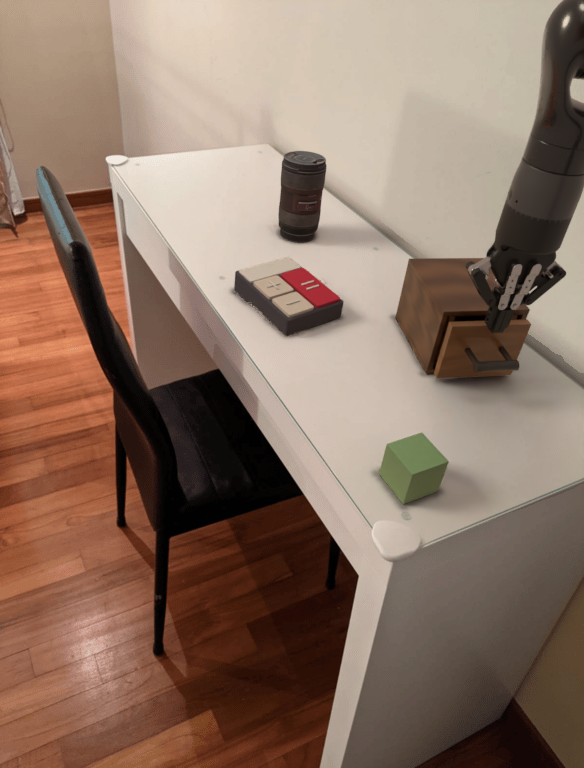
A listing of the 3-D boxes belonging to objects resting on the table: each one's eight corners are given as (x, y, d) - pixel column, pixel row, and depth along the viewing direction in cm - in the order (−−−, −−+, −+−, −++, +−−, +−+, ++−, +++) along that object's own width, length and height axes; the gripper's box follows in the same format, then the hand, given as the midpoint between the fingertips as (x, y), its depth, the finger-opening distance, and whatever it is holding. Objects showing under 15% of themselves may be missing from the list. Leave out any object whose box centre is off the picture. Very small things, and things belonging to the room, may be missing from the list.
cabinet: (506, 370, 90) (530, 309, 83) (425, 374, 88) (443, 311, 81) (467, 315, 101) (485, 257, 94) (395, 317, 98) (408, 258, 92)
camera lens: (323, 231, 121) (333, 155, 111) (309, 248, 115) (318, 168, 105) (285, 222, 123) (292, 146, 113) (270, 237, 117) (275, 159, 107)
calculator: (289, 316, 89) (234, 267, 98) (285, 339, 92) (232, 289, 100) (346, 297, 95) (289, 252, 103) (341, 320, 98) (286, 274, 106)
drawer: (525, 395, 84) (547, 343, 79) (448, 399, 82) (465, 346, 76) (473, 322, 98) (489, 273, 92) (406, 324, 96) (418, 274, 90)
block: (413, 461, 74) (422, 432, 71) (438, 491, 70) (449, 461, 67) (378, 473, 72) (386, 443, 69) (403, 504, 68) (412, 474, 65)
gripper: (501, 217, 65) (458, 348, 76) (610, 218, 68) (553, 344, 79) (473, 189, 71) (437, 314, 82) (575, 190, 73) (526, 312, 84)
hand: (494, 329), depth 80 cm, fingers closed
